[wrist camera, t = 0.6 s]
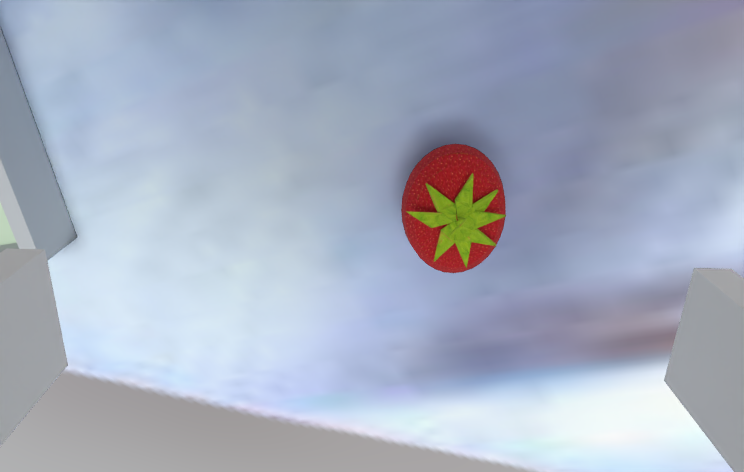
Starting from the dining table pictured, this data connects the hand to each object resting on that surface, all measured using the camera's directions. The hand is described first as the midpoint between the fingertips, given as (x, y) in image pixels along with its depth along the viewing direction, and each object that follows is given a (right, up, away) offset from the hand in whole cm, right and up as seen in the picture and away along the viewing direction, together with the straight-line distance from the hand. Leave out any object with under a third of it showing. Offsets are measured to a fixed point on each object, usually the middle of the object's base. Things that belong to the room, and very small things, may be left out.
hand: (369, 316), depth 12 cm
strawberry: (+5, +5, +26) cm, 27 cm away
